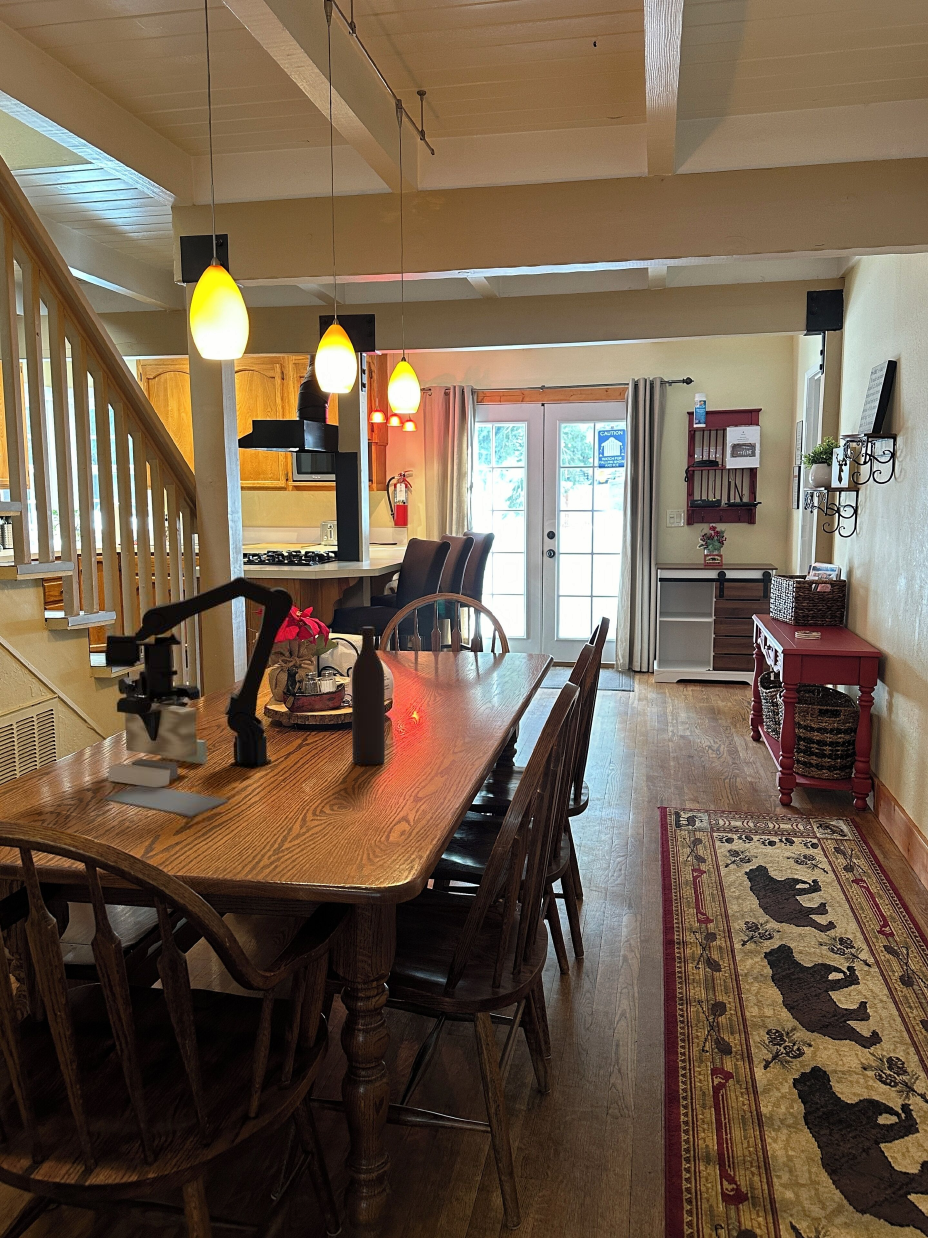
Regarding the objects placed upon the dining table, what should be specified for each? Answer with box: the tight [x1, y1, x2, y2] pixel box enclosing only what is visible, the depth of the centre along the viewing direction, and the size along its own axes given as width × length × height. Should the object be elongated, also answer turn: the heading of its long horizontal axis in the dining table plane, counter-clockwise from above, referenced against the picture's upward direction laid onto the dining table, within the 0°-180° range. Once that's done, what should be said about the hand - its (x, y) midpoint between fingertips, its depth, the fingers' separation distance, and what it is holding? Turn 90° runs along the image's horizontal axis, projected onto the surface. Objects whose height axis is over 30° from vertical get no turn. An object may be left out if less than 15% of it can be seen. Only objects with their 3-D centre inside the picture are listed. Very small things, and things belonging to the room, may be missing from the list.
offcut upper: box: [131, 758, 179, 782], centre depth 191 cm, size 9×3×3 cm
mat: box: [101, 785, 229, 818], centre depth 176 cm, size 22×10×1 cm, turn 64°
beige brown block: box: [124, 703, 198, 760], centre depth 196 cm, size 16×4×10 cm, turn 64°
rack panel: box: [160, 739, 208, 765], centre depth 204 cm, size 12×1×5 cm, turn 64°
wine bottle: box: [351, 626, 386, 767], centre depth 202 cm, size 7×7×30 cm
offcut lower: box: [107, 763, 170, 788], centre depth 187 cm, size 12×4×3 cm, turn 67°
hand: (160, 738), depth 196 cm, fingers closed on beige brown block, 4 cm apart
